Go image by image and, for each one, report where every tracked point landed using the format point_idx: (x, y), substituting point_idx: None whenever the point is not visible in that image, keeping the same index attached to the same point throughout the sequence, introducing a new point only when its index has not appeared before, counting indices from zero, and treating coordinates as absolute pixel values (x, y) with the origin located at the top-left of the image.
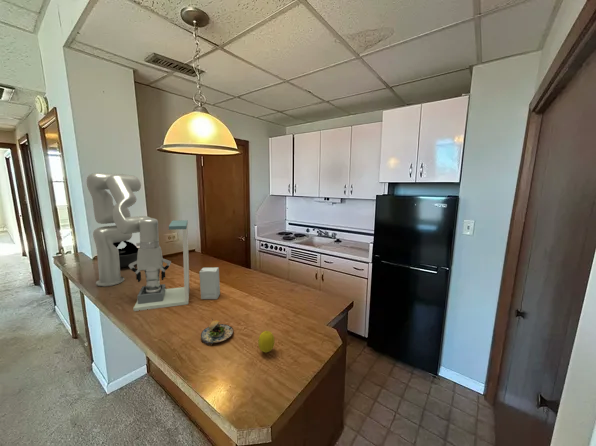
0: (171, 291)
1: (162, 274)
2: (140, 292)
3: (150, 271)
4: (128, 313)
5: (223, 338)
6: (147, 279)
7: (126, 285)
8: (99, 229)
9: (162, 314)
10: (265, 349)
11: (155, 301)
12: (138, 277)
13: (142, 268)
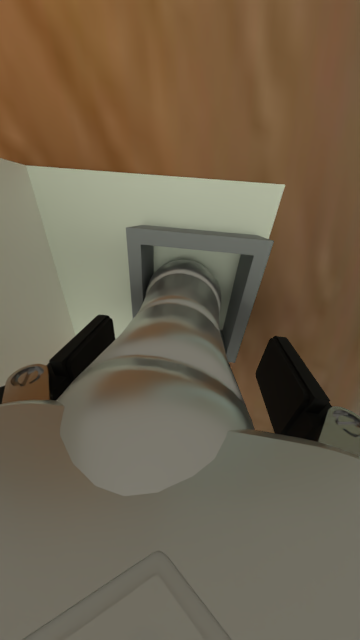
0: (123, 320)
1: (72, 341)
2: (249, 290)
3: (168, 371)
4: (305, 167)
5: None
6: (214, 327)
7: (267, 423)
8: None
9: (129, 50)
10: None
11: (175, 227)
12: (298, 363)
13: (330, 484)
